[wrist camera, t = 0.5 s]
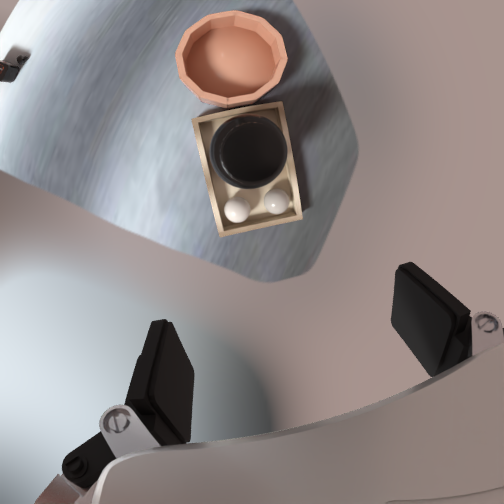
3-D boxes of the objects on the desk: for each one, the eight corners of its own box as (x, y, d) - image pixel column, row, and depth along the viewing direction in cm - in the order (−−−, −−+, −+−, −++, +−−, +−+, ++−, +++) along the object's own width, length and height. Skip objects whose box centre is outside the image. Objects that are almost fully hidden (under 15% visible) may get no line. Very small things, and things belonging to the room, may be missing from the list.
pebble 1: (221, 197, 32) (221, 203, 30) (246, 191, 32) (248, 197, 30) (227, 220, 33) (227, 228, 31) (251, 215, 34) (254, 222, 31)
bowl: (175, 35, 24) (169, 24, 20) (268, 19, 24) (273, 6, 20) (191, 117, 28) (187, 114, 25) (287, 99, 28) (295, 94, 25)
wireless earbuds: (16, 84, 22) (4, 83, 19) (-4, 75, 20) (-16, 74, 17) (30, 57, 21) (18, 54, 18) (9, 50, 19) (-3, 47, 16)
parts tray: (193, 120, 28) (191, 118, 27) (278, 103, 29) (282, 101, 27) (219, 231, 34) (219, 237, 32) (298, 214, 34) (302, 219, 32)
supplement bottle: (265, 114, 29) (289, 101, 18) (278, 169, 32) (307, 188, 21) (206, 128, 29) (196, 121, 18) (221, 183, 32) (219, 208, 21)
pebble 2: (259, 189, 32) (263, 193, 30) (284, 184, 32) (289, 188, 30) (264, 212, 34) (268, 219, 31) (288, 207, 34) (294, 214, 31)
